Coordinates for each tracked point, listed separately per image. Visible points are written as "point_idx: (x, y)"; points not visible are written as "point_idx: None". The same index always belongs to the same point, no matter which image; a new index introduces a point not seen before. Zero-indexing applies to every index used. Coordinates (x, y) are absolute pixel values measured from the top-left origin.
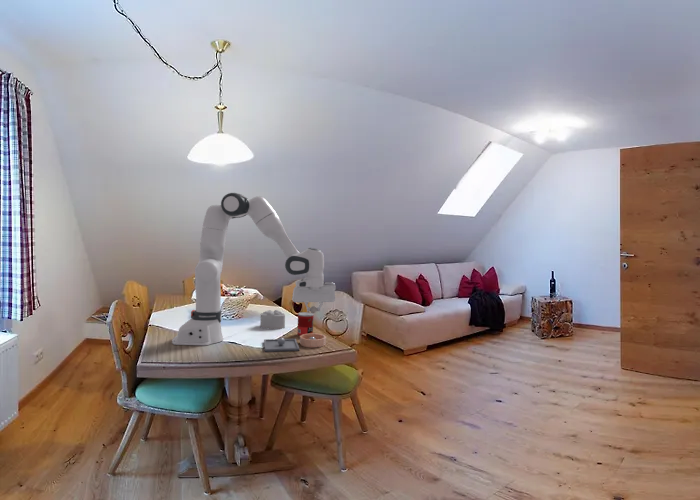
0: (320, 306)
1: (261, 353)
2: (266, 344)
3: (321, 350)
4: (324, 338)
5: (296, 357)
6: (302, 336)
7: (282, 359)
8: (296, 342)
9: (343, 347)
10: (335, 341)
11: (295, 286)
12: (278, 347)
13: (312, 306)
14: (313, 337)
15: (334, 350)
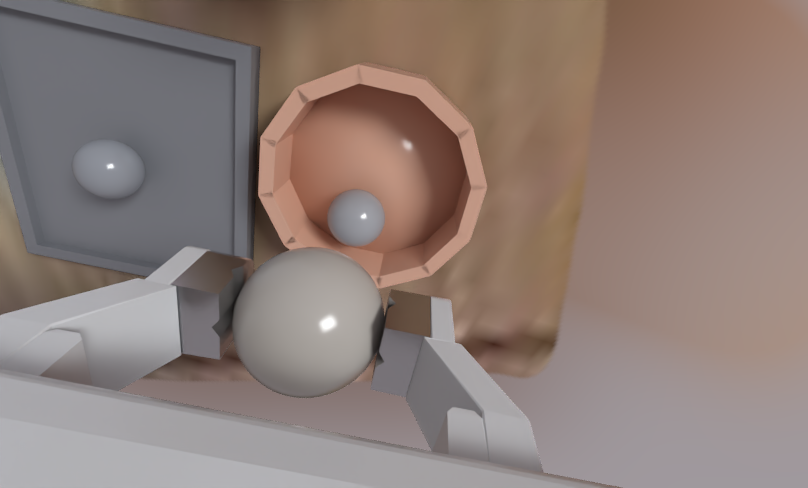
0: (433, 432)
1: (28, 262)
2: (15, 113)
3: (384, 315)
4: (443, 263)
5: (223, 370)
6: (289, 127)
7: (153, 373)
8: (243, 166)
9: (543, 306)
10: (580, 160)
11: None
12: (115, 213)
13: (260, 362)
14: (358, 239)
15: (458, 337)
